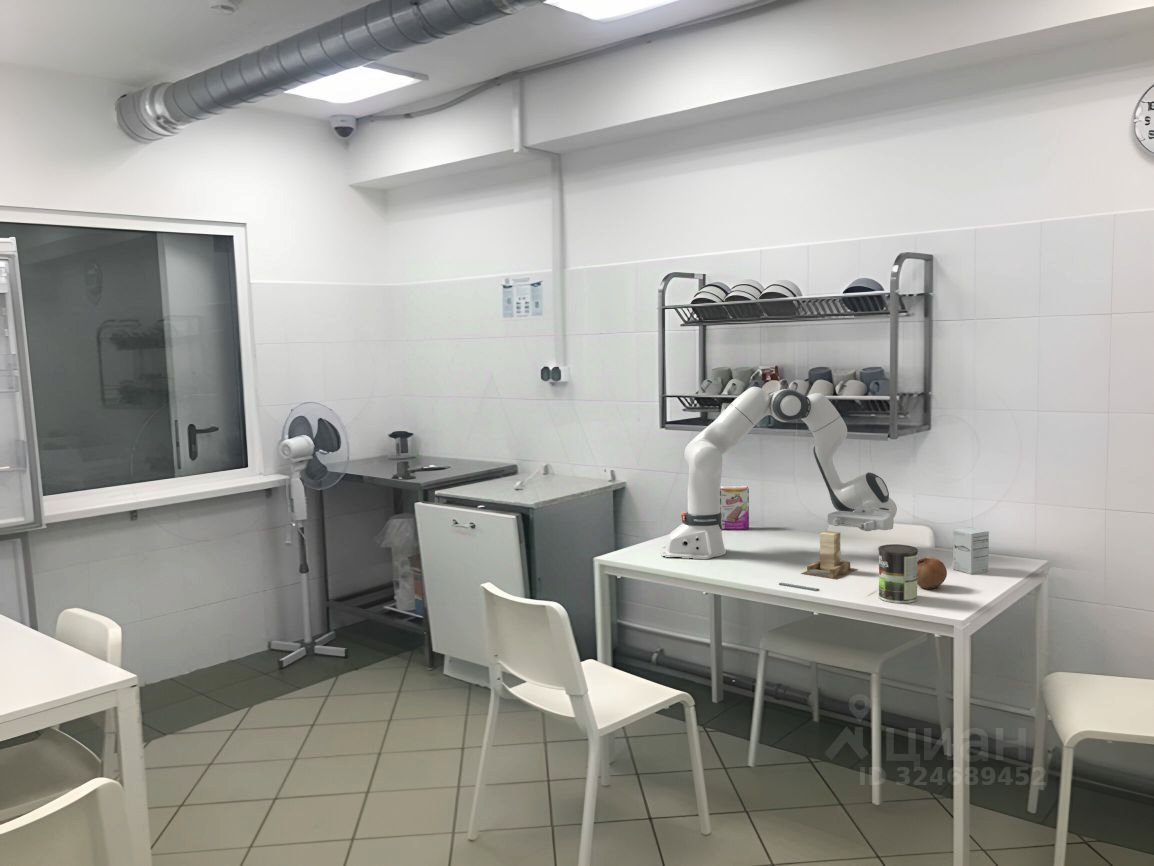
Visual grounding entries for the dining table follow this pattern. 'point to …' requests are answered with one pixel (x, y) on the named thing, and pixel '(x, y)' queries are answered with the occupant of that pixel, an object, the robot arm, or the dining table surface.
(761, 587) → the dining table surface
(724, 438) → the robot arm
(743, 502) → the candy bar box
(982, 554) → the supplement box
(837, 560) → the maple block
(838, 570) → the walnut chute
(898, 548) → the coffee can
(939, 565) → the onion
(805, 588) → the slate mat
